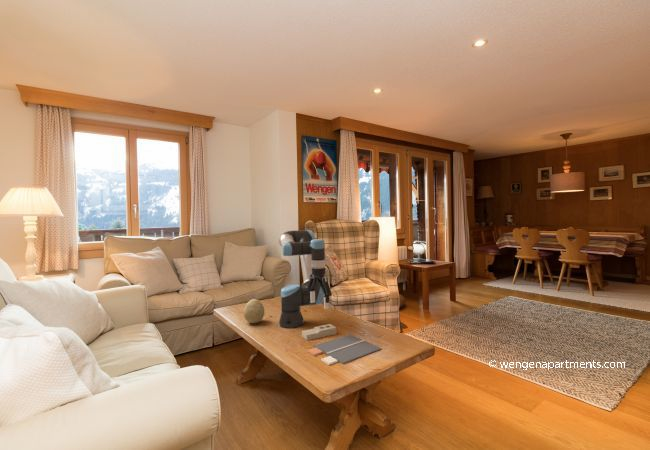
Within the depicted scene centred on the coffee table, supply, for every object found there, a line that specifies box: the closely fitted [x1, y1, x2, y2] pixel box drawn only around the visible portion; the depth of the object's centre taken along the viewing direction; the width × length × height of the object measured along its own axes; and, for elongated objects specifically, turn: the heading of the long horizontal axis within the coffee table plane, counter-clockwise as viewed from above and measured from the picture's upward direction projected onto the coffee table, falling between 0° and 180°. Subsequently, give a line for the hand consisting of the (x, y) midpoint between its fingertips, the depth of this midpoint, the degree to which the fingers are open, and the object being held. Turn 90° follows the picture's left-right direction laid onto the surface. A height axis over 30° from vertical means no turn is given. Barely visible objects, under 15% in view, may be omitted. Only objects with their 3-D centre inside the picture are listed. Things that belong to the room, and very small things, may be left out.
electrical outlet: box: [301, 323, 338, 341], centre depth 177 cm, size 7×4×18 cm
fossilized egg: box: [243, 298, 265, 324], centre depth 200 cm, size 13×13×15 cm
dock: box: [307, 333, 382, 366], centre depth 157 cm, size 24×30×1 cm
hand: (319, 305), depth 177 cm, fingers open, 13 cm apart
